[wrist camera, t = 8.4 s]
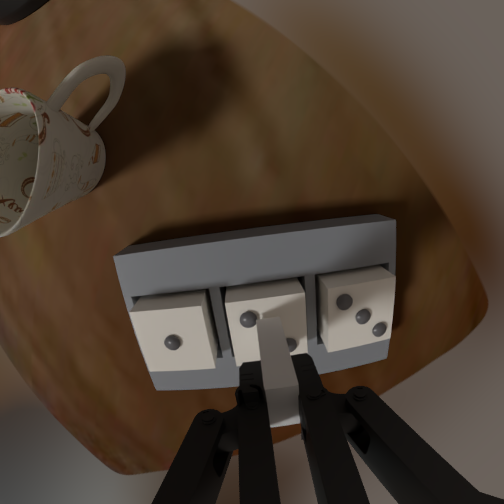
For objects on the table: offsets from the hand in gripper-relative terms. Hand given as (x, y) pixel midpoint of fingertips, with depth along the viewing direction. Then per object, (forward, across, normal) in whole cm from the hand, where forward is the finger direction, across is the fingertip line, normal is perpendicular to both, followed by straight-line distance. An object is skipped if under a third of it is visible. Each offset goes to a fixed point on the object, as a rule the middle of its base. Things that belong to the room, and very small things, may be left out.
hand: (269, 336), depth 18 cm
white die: (+4, 0, 0) cm, 4 cm away
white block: (+4, -6, 0) cm, 8 cm away
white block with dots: (+4, +7, 0) cm, 8 cm away
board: (+5, 0, 0) cm, 5 cm away
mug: (+6, -12, +15) cm, 20 cm away
